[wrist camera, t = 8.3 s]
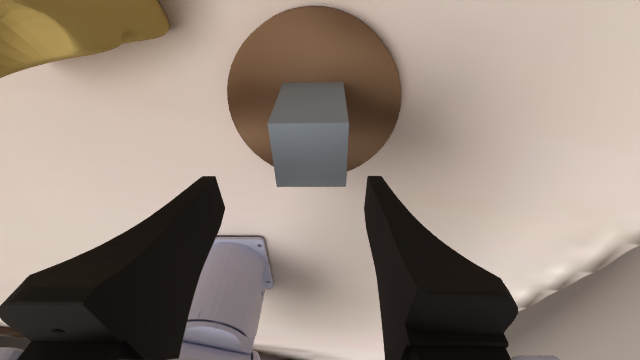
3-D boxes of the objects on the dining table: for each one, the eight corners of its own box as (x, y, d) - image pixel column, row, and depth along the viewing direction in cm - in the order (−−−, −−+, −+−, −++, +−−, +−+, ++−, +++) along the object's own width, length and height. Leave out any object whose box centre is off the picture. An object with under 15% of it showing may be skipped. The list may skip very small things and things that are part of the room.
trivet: (385, 166, 24) (388, 176, 23) (249, 166, 24) (245, 177, 23) (410, 3, 17) (416, 6, 16) (214, 7, 17) (206, 11, 16)
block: (341, 135, 21) (346, 186, 16) (288, 136, 21) (277, 186, 16) (343, 82, 18) (348, 122, 14) (282, 82, 18) (267, 123, 14)
